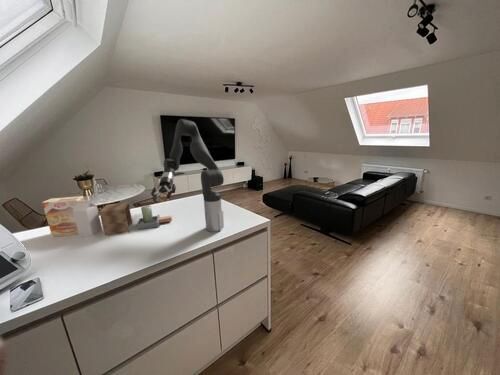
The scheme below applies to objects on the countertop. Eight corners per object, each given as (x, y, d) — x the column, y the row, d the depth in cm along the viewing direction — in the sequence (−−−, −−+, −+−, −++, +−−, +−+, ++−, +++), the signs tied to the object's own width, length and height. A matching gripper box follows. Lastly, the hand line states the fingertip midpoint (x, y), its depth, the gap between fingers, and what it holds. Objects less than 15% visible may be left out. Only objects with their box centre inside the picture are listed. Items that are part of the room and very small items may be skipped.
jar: (155, 221, 119) (152, 205, 117) (149, 224, 115) (146, 208, 112) (148, 220, 120) (145, 205, 118) (142, 224, 116) (139, 208, 113)
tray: (171, 217, 127) (171, 212, 127) (171, 224, 117) (171, 220, 116) (140, 222, 121) (139, 217, 120) (137, 230, 111) (136, 225, 110)
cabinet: (132, 223, 120) (128, 202, 116) (128, 232, 109) (124, 209, 105) (111, 226, 116) (106, 204, 113) (104, 236, 105) (99, 212, 102)
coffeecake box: (51, 237, 105) (40, 202, 100) (60, 231, 112) (50, 198, 106) (85, 233, 109) (76, 199, 104) (91, 227, 115) (83, 195, 110)
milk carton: (92, 237, 104) (84, 203, 99) (79, 237, 105) (70, 203, 100) (102, 230, 111) (95, 198, 106) (90, 230, 111) (82, 198, 106)
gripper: (153, 178, 127) (146, 197, 115) (174, 174, 126) (169, 192, 115) (159, 186, 132) (152, 205, 121) (179, 182, 131) (175, 201, 120)
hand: (161, 199), depth 118 cm, fingers open, 8 cm apart
